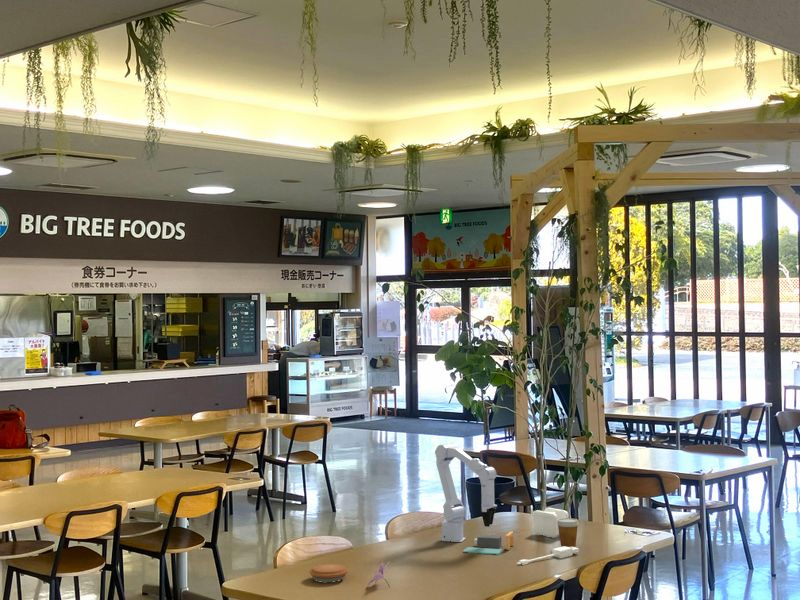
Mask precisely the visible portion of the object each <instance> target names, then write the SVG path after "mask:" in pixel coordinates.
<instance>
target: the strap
mask: <svg viewBox="0 0 800 600" xmlns="http://www.w3.org/2000/svg"><path fill="white" fill-rule="evenodd" d="M514 533H515V531H509V532H508V533H506V534H505V550H511V546H512V547H514V545H515V538H514V537H515V535H514Z"/></svg>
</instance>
